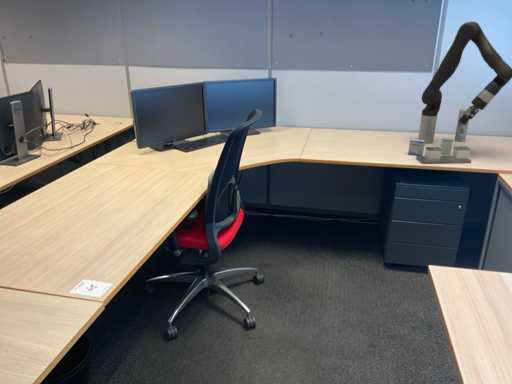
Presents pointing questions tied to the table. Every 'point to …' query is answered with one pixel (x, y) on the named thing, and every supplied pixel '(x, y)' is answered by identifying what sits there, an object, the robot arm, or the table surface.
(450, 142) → the module
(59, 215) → the table surface
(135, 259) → the table surface
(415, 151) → the medicine box
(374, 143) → the table surface
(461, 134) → the spray paint can
